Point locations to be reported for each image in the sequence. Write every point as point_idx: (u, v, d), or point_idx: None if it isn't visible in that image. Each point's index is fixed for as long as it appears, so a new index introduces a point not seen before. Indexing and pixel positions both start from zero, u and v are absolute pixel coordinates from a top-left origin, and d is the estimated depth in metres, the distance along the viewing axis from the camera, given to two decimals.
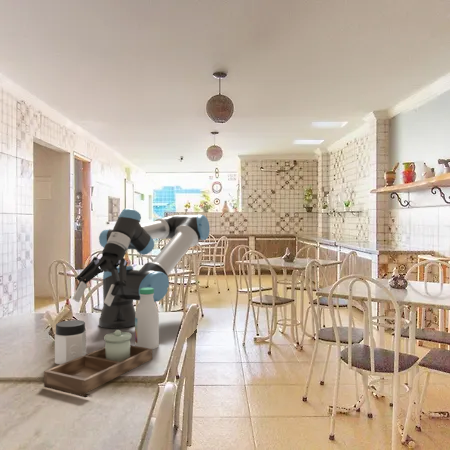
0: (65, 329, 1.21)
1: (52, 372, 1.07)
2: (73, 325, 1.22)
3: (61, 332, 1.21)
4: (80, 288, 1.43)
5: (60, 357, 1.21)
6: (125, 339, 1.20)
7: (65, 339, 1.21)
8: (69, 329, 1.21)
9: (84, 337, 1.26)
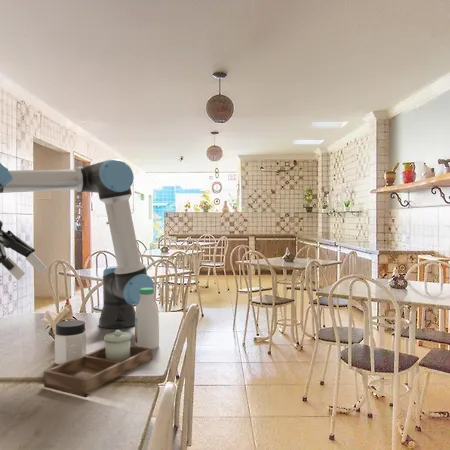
0: (65, 329, 1.21)
1: (52, 372, 1.07)
2: (73, 325, 1.22)
3: (61, 332, 1.21)
4: (32, 262, 1.31)
5: (60, 357, 1.21)
6: (125, 339, 1.20)
7: (65, 339, 1.21)
8: (69, 329, 1.21)
9: (84, 337, 1.26)
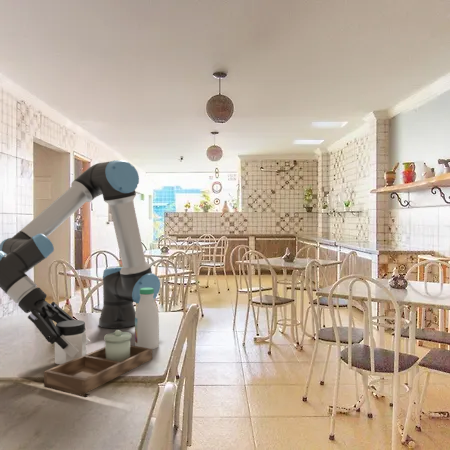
0: (65, 329, 1.21)
1: (52, 372, 1.07)
2: (73, 325, 1.22)
3: (61, 332, 1.21)
4: None
5: (60, 357, 1.21)
6: (125, 339, 1.20)
7: None
8: (69, 329, 1.21)
9: (84, 337, 1.26)
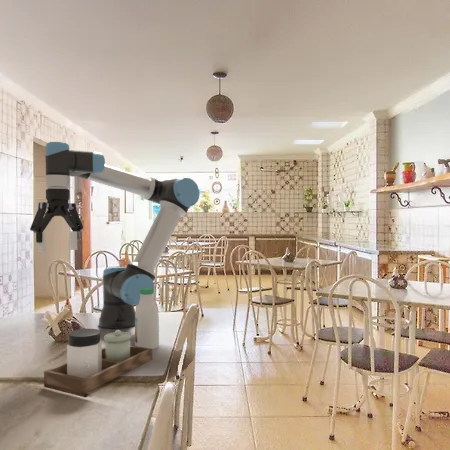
0: (79, 339, 1.07)
1: (52, 372, 1.07)
2: (88, 335, 1.09)
3: (74, 343, 1.07)
4: (71, 238, 1.49)
5: (73, 371, 1.08)
6: (125, 339, 1.20)
7: (79, 351, 1.07)
8: (83, 339, 1.07)
9: (100, 348, 1.12)
